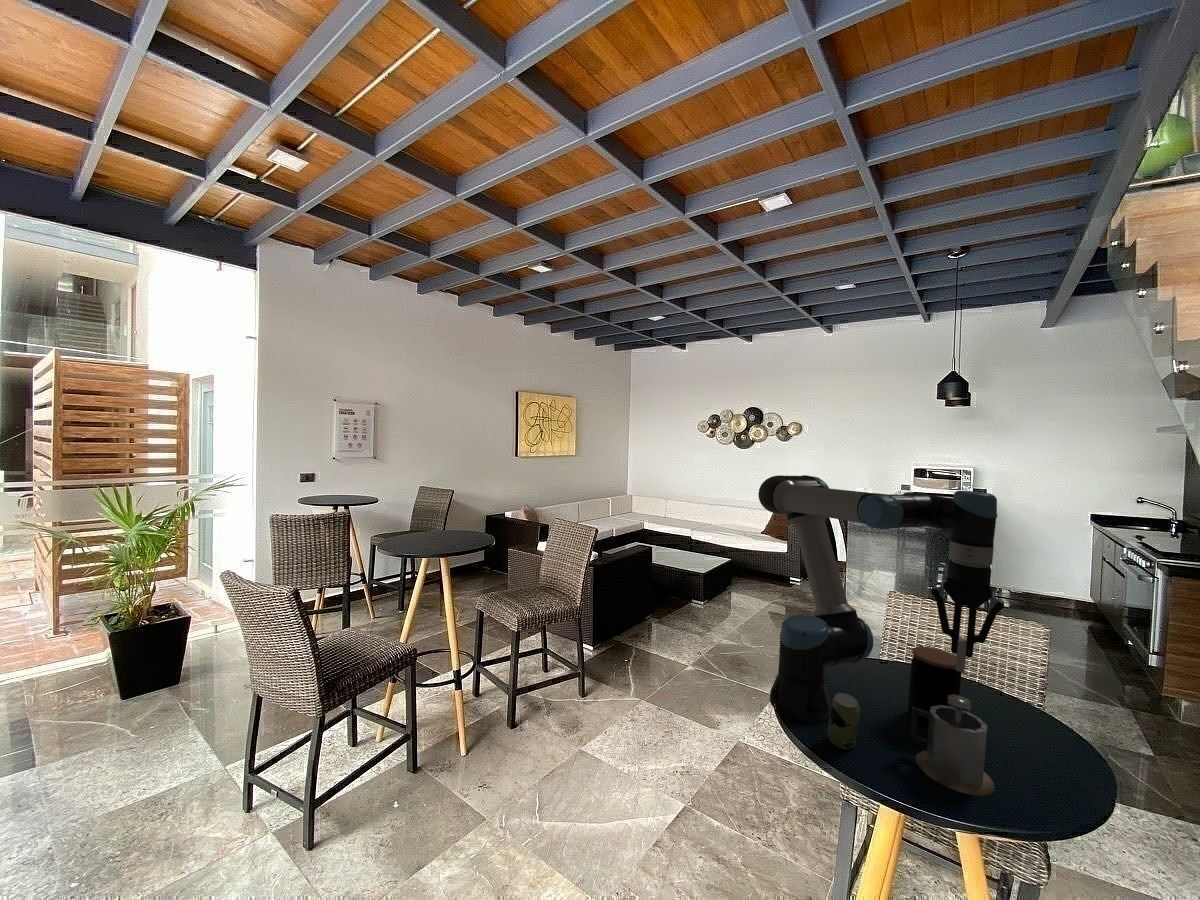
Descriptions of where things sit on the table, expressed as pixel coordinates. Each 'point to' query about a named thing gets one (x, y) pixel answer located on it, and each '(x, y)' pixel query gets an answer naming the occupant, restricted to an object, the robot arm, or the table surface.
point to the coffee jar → (932, 680)
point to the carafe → (953, 745)
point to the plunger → (959, 706)
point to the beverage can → (843, 721)
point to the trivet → (981, 791)
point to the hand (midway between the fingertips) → (960, 669)
